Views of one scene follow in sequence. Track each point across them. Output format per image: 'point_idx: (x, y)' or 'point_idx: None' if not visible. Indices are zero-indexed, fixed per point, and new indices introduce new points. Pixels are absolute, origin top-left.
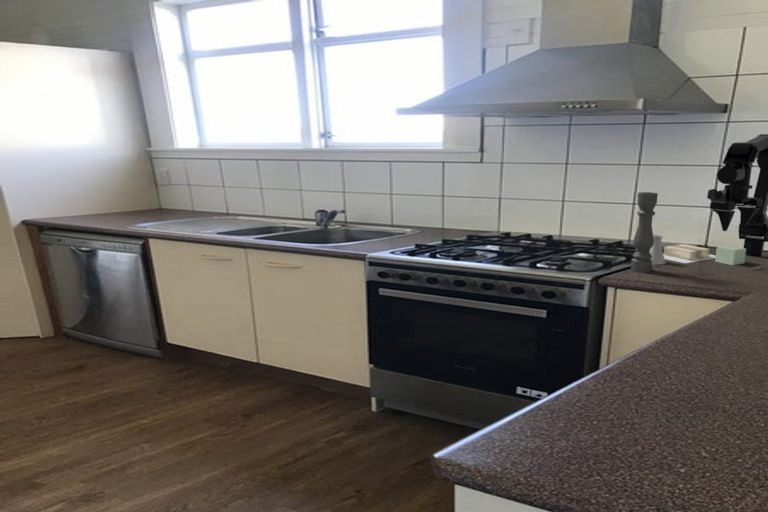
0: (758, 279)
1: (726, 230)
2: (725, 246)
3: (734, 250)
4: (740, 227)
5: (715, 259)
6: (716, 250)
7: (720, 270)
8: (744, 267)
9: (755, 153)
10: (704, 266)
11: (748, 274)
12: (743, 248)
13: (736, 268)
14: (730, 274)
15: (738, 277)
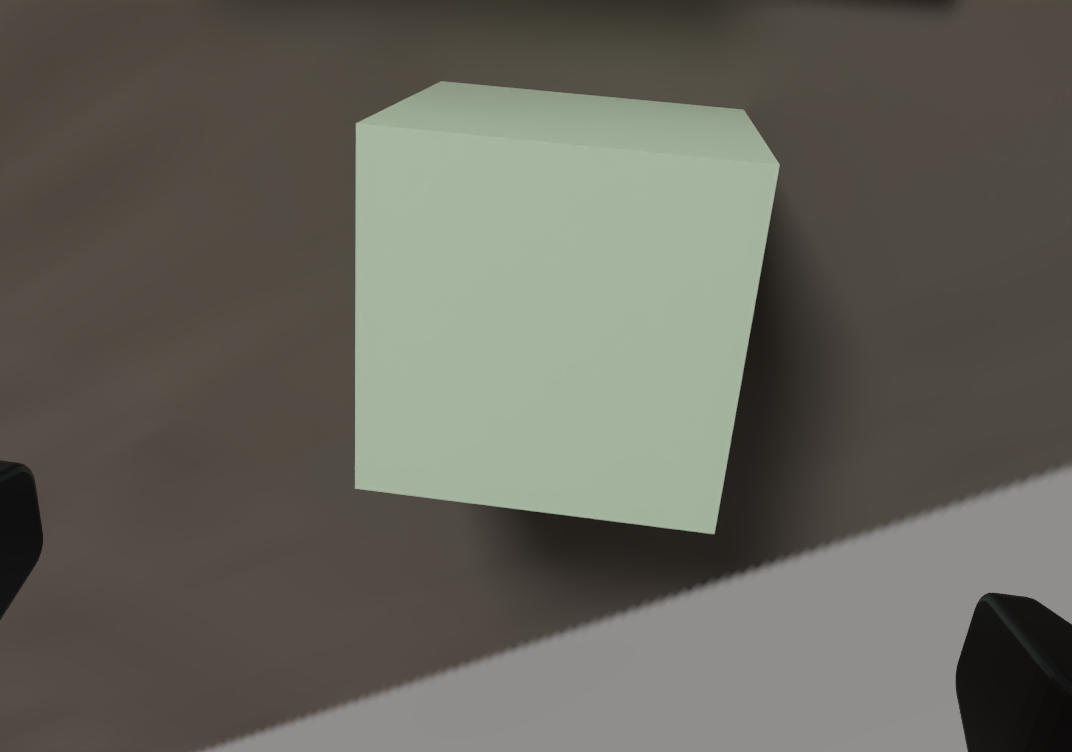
0: (158, 742)
1: (12, 569)
2: (600, 191)
3: (355, 484)
4: (992, 600)
5: (421, 93)
6: (378, 113)
7: (157, 336)
8: None
9: None
10: (169, 69)
11: (272, 611)
12: (684, 501)
13: None
14: (85, 501)
15: (45, 605)
